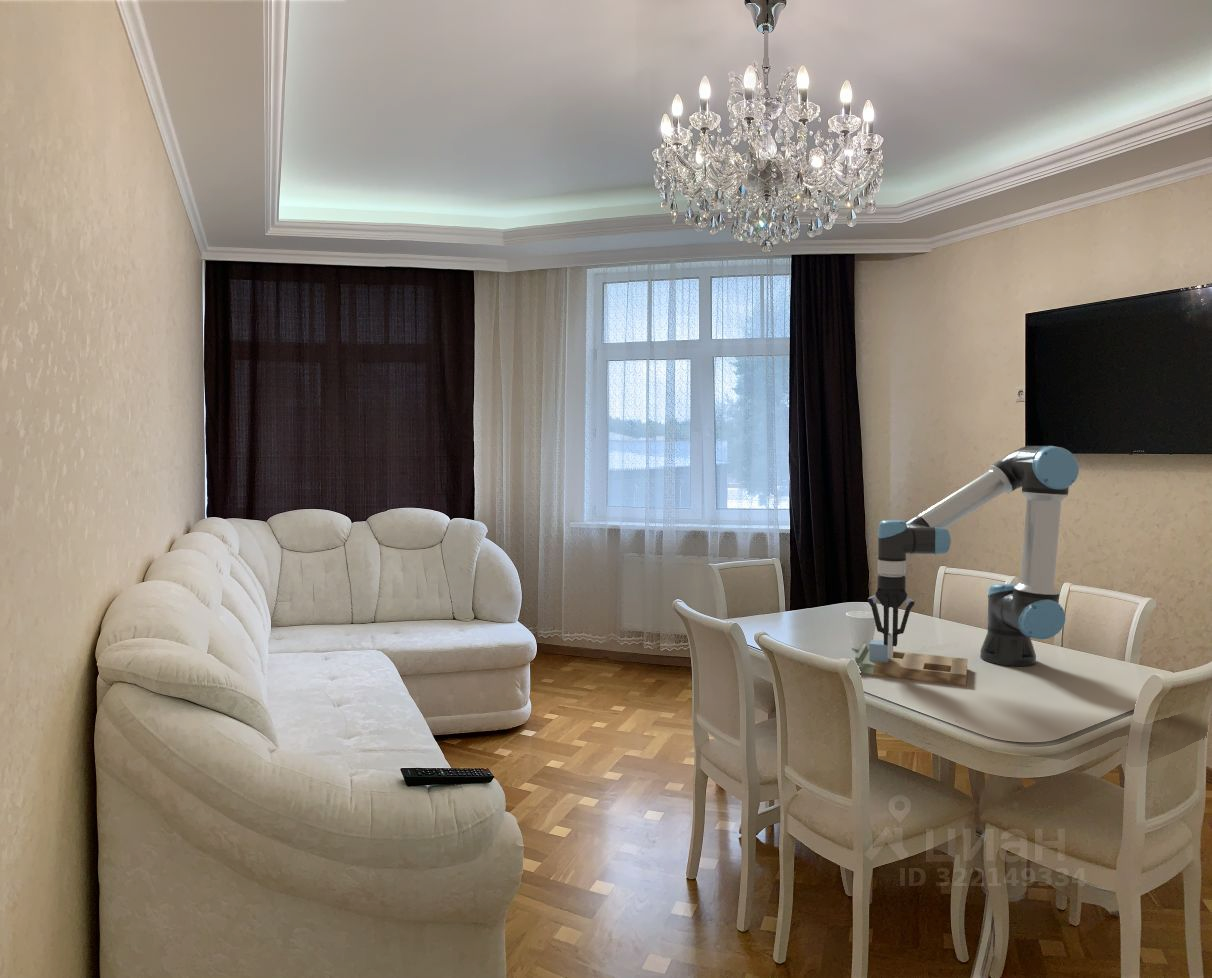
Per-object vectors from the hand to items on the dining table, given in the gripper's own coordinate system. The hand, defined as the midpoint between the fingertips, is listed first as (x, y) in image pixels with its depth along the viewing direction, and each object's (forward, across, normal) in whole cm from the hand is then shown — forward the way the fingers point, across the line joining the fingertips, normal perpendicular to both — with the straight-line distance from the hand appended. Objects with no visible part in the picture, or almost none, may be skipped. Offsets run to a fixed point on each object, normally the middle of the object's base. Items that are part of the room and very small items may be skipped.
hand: (890, 657), depth 235 cm
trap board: (+5, -6, -5) cm, 9 cm away
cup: (+5, +11, -25) cm, 28 cm away
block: (+2, +3, -2) cm, 4 cm away
